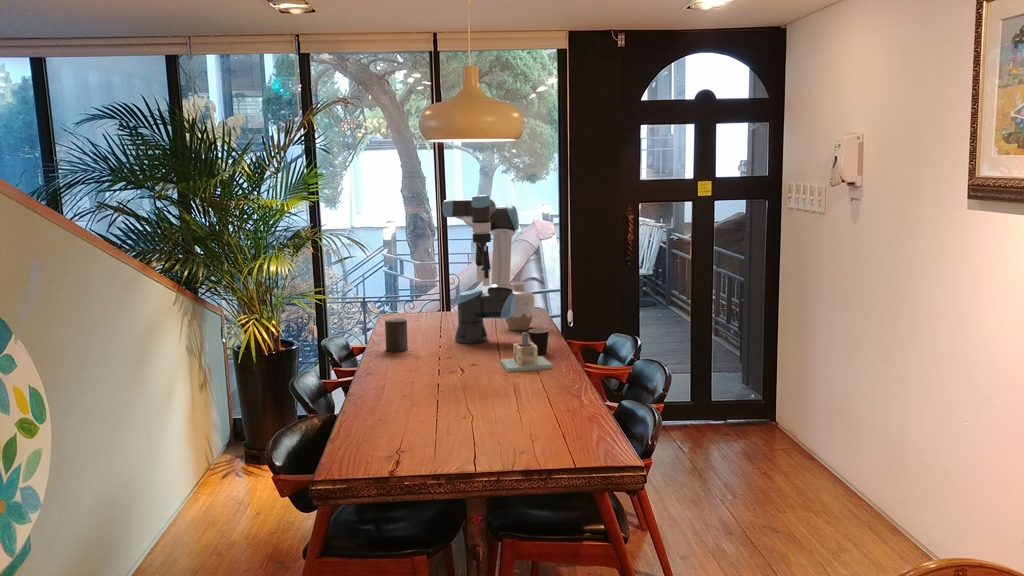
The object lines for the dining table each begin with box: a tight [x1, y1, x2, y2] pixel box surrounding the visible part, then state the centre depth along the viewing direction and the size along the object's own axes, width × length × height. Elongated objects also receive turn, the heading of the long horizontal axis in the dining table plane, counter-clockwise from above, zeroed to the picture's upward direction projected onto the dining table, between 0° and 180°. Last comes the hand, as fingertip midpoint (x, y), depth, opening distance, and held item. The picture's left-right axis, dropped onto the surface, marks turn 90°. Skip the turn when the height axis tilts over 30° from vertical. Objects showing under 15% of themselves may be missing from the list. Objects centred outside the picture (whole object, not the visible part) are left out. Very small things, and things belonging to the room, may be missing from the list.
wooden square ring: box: [512, 342, 539, 365], centre depth 325 cm, size 8×8×7 cm
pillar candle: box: [384, 316, 409, 353], centre depth 358 cm, size 10×10×15 cm
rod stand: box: [499, 331, 553, 373], centre depth 324 cm, size 15×18×14 cm
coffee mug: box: [528, 328, 550, 356], centre depth 346 cm, size 12×9×10 cm
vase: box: [504, 281, 535, 332], centre depth 395 cm, size 16×16×23 cm
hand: (483, 283), depth 335 cm, fingers open, 13 cm apart
